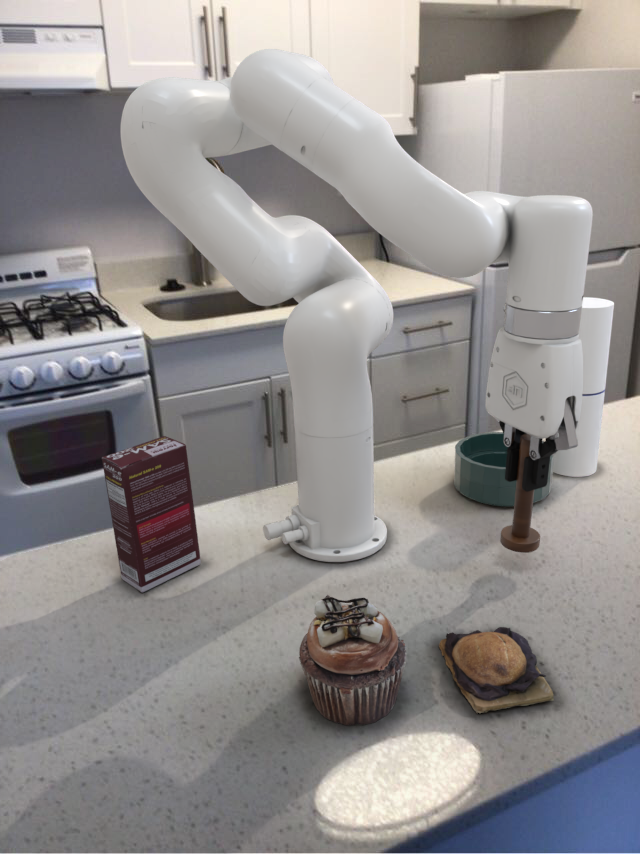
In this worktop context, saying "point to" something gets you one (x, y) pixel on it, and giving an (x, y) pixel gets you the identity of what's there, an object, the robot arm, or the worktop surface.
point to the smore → (495, 669)
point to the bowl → (488, 471)
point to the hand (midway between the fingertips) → (525, 482)
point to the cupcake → (352, 661)
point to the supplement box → (152, 512)
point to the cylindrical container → (589, 389)
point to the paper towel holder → (521, 511)
